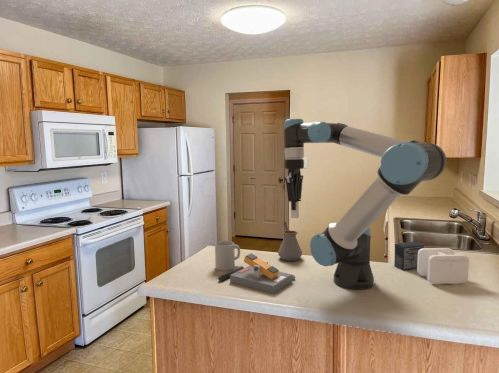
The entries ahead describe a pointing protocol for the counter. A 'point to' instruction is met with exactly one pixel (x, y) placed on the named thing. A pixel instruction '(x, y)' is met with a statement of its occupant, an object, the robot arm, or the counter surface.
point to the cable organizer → (442, 266)
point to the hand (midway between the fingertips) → (294, 217)
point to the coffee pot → (289, 246)
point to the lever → (261, 266)
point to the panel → (260, 279)
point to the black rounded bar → (229, 273)
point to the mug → (225, 255)
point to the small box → (407, 255)
